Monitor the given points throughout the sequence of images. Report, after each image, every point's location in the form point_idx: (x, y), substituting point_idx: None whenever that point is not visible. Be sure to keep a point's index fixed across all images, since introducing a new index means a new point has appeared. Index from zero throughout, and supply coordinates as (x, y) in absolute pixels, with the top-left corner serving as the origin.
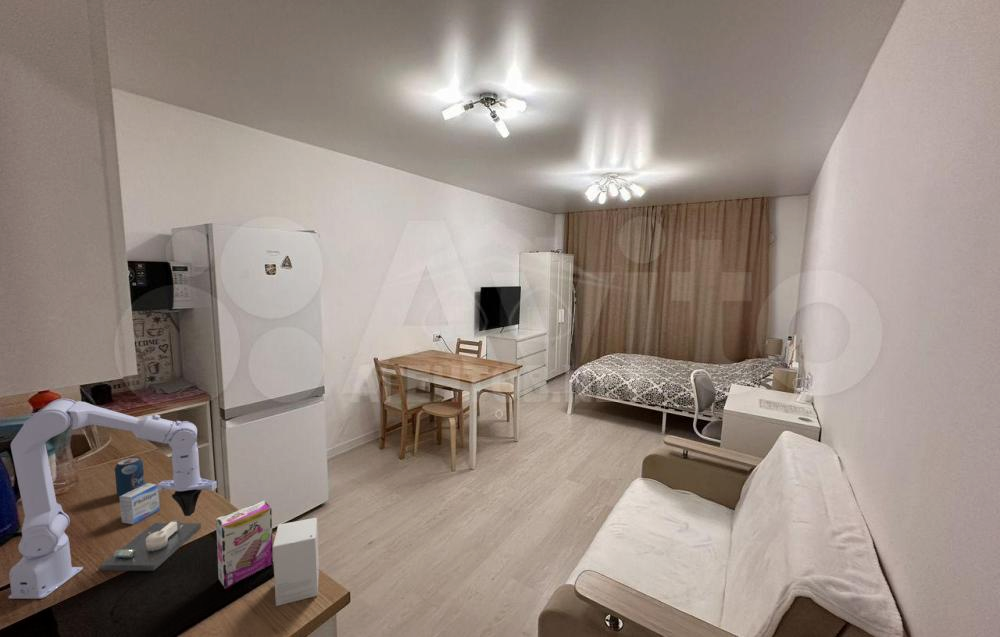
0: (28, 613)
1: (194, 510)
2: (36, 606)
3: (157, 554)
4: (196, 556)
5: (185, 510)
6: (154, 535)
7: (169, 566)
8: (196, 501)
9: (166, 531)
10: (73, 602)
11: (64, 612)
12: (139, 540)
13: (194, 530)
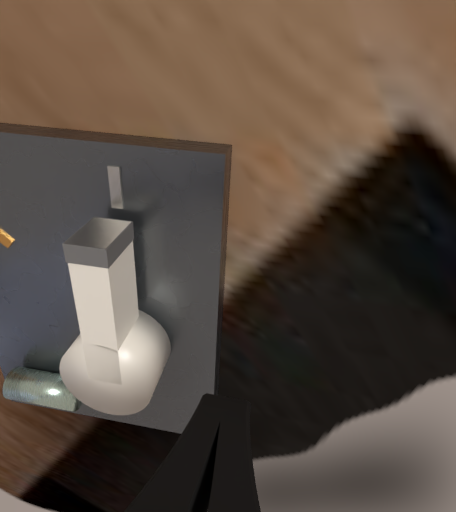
0: (17, 480)
1: (248, 412)
2: (8, 467)
3: (177, 387)
4: (346, 377)
5: (208, 503)
6: (90, 375)
7: (262, 409)
8: (258, 505)
9: (120, 341)
10: (86, 476)
11: (99, 497)
12: (5, 284)
13: (225, 211)
